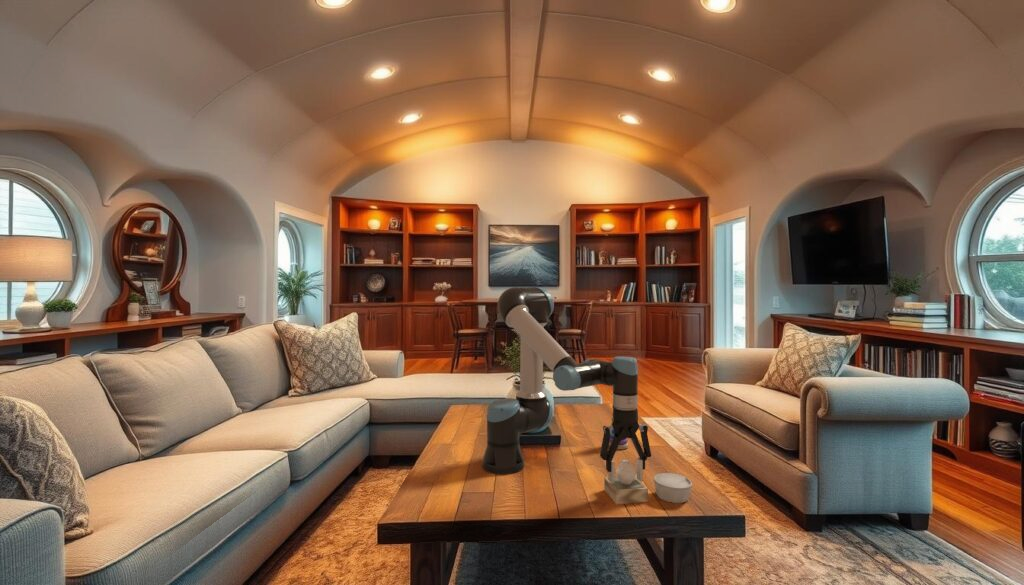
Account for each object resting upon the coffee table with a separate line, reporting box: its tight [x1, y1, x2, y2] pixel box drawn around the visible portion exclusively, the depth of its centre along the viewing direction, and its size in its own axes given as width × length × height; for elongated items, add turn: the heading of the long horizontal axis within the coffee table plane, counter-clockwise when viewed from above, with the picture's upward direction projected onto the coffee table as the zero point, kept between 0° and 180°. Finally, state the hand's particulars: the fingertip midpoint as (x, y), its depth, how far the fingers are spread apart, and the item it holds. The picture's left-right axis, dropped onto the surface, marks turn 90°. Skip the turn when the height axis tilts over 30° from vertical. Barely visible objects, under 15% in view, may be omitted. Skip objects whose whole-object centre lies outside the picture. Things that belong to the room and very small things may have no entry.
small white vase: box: [615, 459, 637, 484], centre depth 143 cm, size 6×6×7 cm
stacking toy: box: [609, 404, 629, 450], centre depth 188 cm, size 8×8×19 cm
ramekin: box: [653, 472, 693, 504], centre depth 143 cm, size 11×11×5 cm
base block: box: [603, 476, 649, 505], centre depth 143 cm, size 10×10×4 cm
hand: (625, 480), depth 143 cm, fingers open, 8 cm apart
